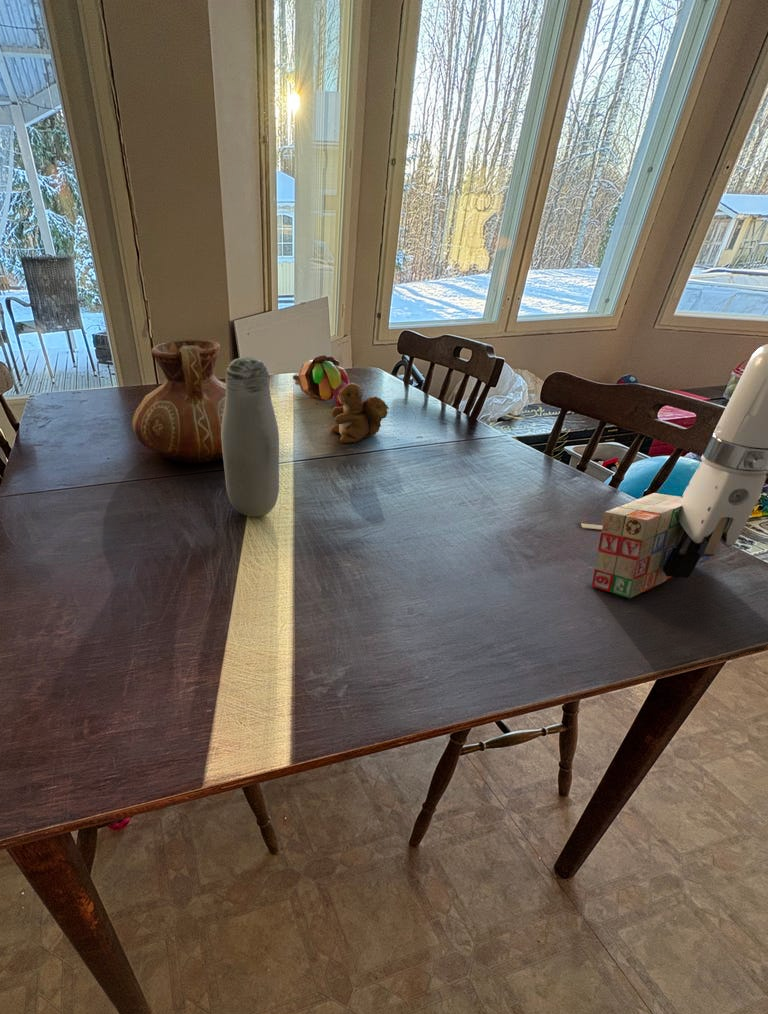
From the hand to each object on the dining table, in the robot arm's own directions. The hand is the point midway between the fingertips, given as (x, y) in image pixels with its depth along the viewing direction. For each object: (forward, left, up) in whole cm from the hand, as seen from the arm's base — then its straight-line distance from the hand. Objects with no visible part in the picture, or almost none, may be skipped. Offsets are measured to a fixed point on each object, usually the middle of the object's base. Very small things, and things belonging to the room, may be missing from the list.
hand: (675, 574), depth 80 cm
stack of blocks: (+1, -5, -3) cm, 6 cm away
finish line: (0, -21, -4) cm, 22 cm away
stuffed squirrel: (+58, -63, -4) cm, 85 cm away
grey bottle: (+71, -13, -4) cm, 72 cm away
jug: (+96, -45, -4) cm, 106 cm away
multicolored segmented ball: (+75, -98, -4) cm, 123 cm away
